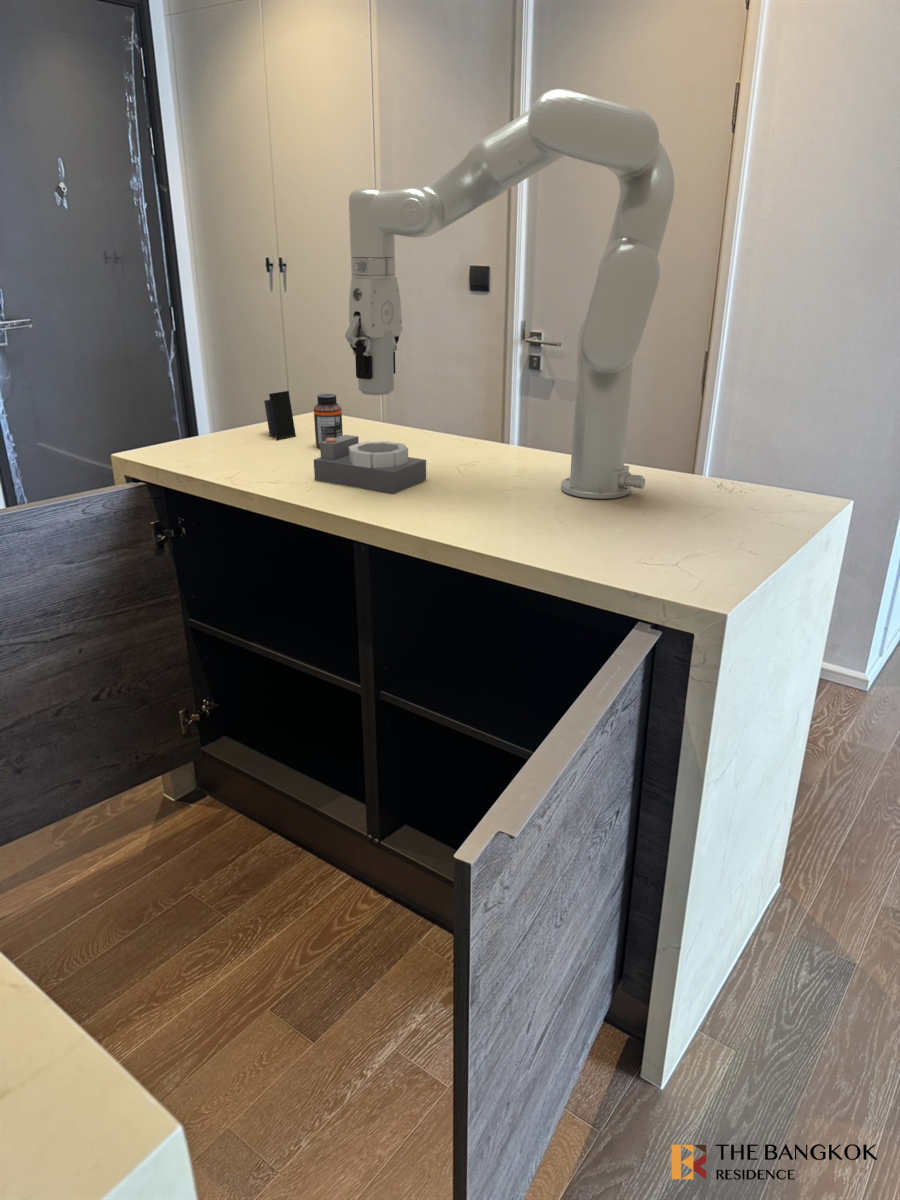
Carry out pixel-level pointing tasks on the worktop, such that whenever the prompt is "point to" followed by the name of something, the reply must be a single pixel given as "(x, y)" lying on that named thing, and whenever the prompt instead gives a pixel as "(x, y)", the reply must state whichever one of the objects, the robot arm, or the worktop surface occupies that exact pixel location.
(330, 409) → the supplement bottle
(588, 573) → the worktop surface
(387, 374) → the beverage can
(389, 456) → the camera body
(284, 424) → the speaker
